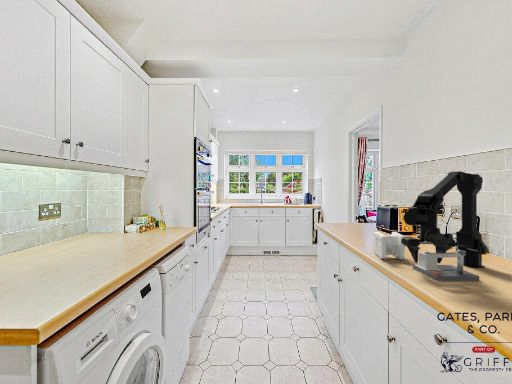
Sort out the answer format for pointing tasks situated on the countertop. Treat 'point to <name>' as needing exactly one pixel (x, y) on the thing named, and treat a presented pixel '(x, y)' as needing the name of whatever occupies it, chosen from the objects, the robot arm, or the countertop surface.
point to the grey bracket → (458, 254)
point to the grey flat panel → (446, 273)
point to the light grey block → (427, 264)
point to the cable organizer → (389, 245)
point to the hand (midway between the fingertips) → (427, 263)
